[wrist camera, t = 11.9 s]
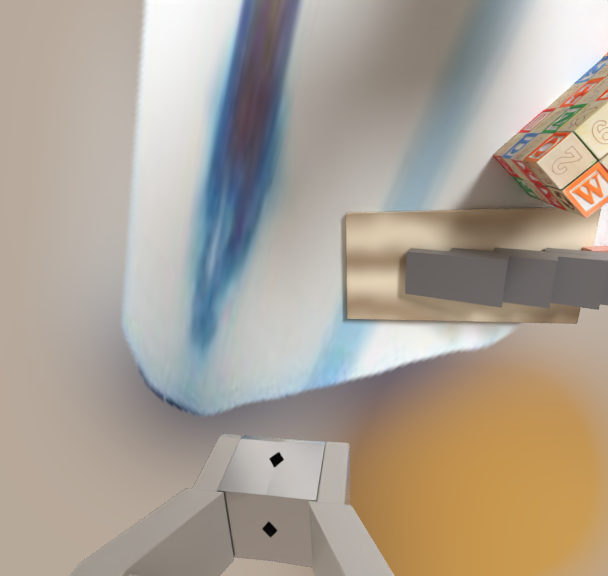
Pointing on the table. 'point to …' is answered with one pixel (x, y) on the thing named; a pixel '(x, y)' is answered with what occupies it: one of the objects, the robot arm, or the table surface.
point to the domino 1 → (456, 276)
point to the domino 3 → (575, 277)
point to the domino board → (444, 236)
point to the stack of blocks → (566, 148)
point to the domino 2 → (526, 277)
